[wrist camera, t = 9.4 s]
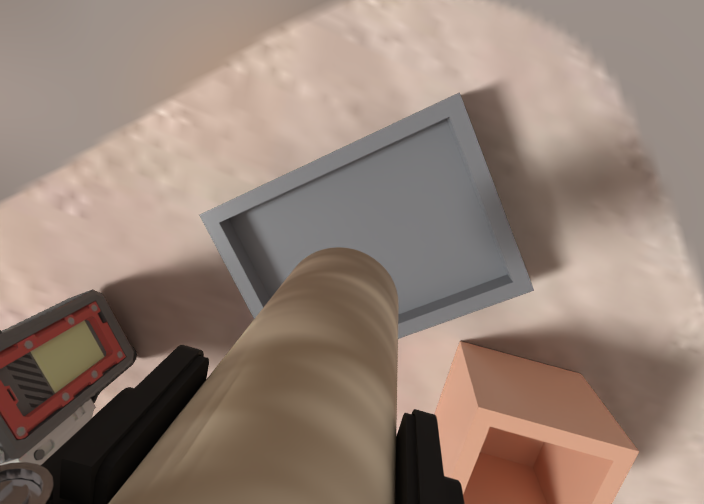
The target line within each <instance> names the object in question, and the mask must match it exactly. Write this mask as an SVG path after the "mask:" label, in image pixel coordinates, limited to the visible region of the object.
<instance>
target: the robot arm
mask: <svg viewBox="0 0 704 504" xmlns="http://www.w3.org/2000/svg"><path fill="white" fill-rule="evenodd" d="M203 356H204V354H203V351H202V350H199V349H195V348H192V347H188V346H184V345H180V346H178V347H177V348H176V349H175V350H174V351H173V352H172V353H171V354H170V355H169V356H168V357H167V358H166V359H165V360H163V361H162V362H161V363H160V364H159V365H158V366H157V367H156V368H155V369H154V370H153V371H152V372H151V373H150V374H149V375H148V376H147V377H146V378H145V379H144V380H143V381H142V382H140V383H139V384H138V385H137V386H136V387H135V388H131V387H128V388H125V389H124V390H122V391H121V392H120V393H119V394H118V395H116V396H115V397H114V398H113V399H112V400H111V401H110V402H109V403H108V404H107V405H106V406H105V407H103V408H102V409H101V410H100V411H99V412H98V413H97V414H96V415H95V416H94V417H93V418H91V419H90V420H89V421H88V422H87V423H86V424H85V425H84V426H83V427H82V428H81V429H80V430H78V431H77V432H76V433H75V434H74V435H73V436H72V437H71V438H70V439H69V440H68V441H67V442H65V443H64V444H63V445H62V446H61V447H60V448H59V449H58V450H57V451H56V452H55V453H54V454H52V455H51V456H50V457H49V458H48V459H47V460H46V461H45V462H44V463H43V464H42V465H39V464H34V463H28V462H17V463H8V464H4V465H0V504H108V503H109V502H110V501H111V500H112V498H113V497H114V496H115V495H116V493H117V492H118V491H119V490H120V488H121V487H122V486H123V484H124V483H125V482H126V481H127V479H128V478H129V477H130V476H131V474H132V473H133V472H134V471H135V469H136V468H137V467H138V466H139V464H140V463H141V462H142V460H143V459H144V458H145V457H146V455H147V454H148V453H149V452H150V450H151V449H152V448H153V447H154V445H155V444H156V443H157V442H158V440H159V439H160V438H161V436H162V435H163V434H164V433H165V431H166V430H167V429H168V428H169V426H170V425H171V424H172V423H173V421H174V420H175V419H176V417H177V416H178V415H179V414H180V412H181V411H182V410H183V409H184V407H185V406H186V405H187V404H188V402H189V401H190V400H191V399H192V397H193V396H194V395H195V393H196V392H197V391H198V390H199V388H200V387H201V386H202V385H203V383H204V382H205V381H206V378H207V372H208V365H209V359H208V358H206V357H203ZM395 504H465V503H464V497H463V491H462V486H461V483H460V482H459V480H456V479H453V478H449V477H446V476H444V470H443V462H442V454H441V446H440V438H439V430H438V422H437V416H436V415H434V414H430V413H426V412H423V411H419V410H416V409H414V410H413V412H412V414H408V413H404V415H403V418H402V421H401V424H400V427H399V430H398V433H397V436H396V478H395Z"/></svg>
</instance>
